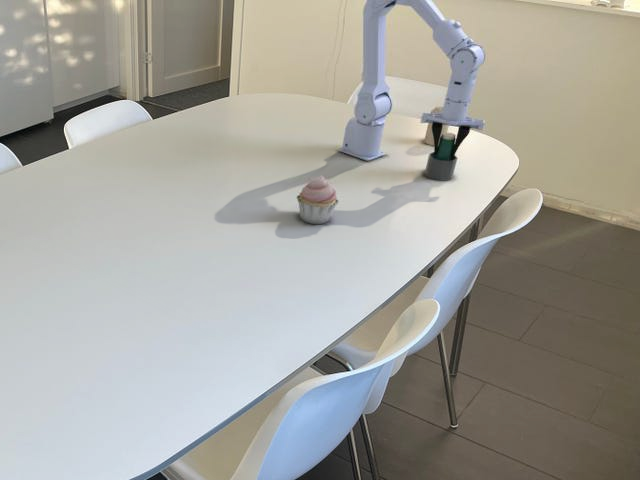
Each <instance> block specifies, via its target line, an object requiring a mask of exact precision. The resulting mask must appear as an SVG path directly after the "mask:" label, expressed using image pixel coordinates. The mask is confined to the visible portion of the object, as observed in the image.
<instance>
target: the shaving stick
mask: <svg viewBox="0 0 640 480" xmlns="http://www.w3.org/2000/svg"><path fill="white" fill-rule="evenodd" d="M456 137H457V134H456V133H452V132H447V133H442V136H441V137H440V141H439V145H438V150H437V154H436V157H435V159H438V160H443V161H450V159H451V155H452V151H453V147H454V144H455V141H456Z"/></svg>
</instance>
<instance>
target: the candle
mask: <svg viewBox="0 0 640 480" xmlns="http://www.w3.org/2000/svg"><path fill="white" fill-rule="evenodd" d="M442 110H443V106H435V107H434V108H433V109H431V111H430V113H431V114H442ZM448 131H449V125H443V127H442V131H441V135H440V137H441V136H442V133H448ZM439 141H440V139H439ZM423 142H424V144H427V145H430V146H434V137H433V132H432V123H427V127H426V131H425V135H424V141H423ZM438 145H439V144H438Z"/></svg>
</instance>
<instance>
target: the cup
mask: <svg viewBox="0 0 640 480" xmlns="http://www.w3.org/2000/svg"><path fill="white" fill-rule="evenodd" d="M435 157H436V155H435V154H434V151H431V152H429V154H428V157H427V161H426V165H425V169H424V176H426V177H427V178H429V179H432V180H434V181H435V180H436V181H449V180H450V181H451V180H452V179H453V177H454V173H455V170H456V166H457V163H458V157H457V155H455V156H454V157H451V159H450V161H443V160H438V159H435Z"/></svg>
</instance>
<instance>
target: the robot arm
mask: <svg viewBox="0 0 640 480" xmlns="http://www.w3.org/2000/svg"><path fill="white" fill-rule="evenodd" d="M397 5H399V6H406V7H407V6H408V7H411V8H412V10H413V11H414V12H415V13H416V14H417V15H418V16H419V17H420V18H421V19H422V20H423V21H424V22H425V23H426V24H427V26H428V27H429V28H430V29H431V30H432V40H433V41H434V42H435V44H436V45H437V47H439V48H440V50H441V51H442V52H443V53H444V54H445V56H446V58H448V59H449V66H450V69H451V75H450V78H449V82H448V86H447V90H446V95H445V98H444V101H443V106H442V107H443V110H442V114H431V112H430V113H429V112H422V113H421V117H420V118H421V119H420V124H426V123H427V124H428V123H432V132H433V137H434V145H433V152H434V154H435V155H436V154H437V150H438V144H439V139H440V135H441V131H442V127H443V125H449V126H450V127H456V128H457V127H458V130H457V133H456V136H455V138H456V140H455V144H454V147H453V151H452V155H451V157H454V156H456V153H457V151H458V149H459V147H460V146H461V144H462V143H463V141H464V140H465V139H466V138H467V137H468V136H469V134H470V131H471V129H472V130H473V129H474V130H477V131H483V129H484V126H485V119H478V118H473V117H469V116H467V115H468V111H469V108H470V104H471V100H472V97H473V93H474V88H475V84H476V80H477V76H478V72H479V68H481V67H482V66H483V64H484V63H485V60H486V52H485V50H484V48H483V46H482V45H481V44H479V43H474V42H475V40H473V38H469V36H468V35H467V34H466V33H465V31H464V30H462V28H461V27H462V23H460V21H455V20H454V19H446V18H445V16H444V15H443V13H442V12H441V11H440V9H439V8H438V7H437V5H436V4H435V2H434V1H433V0H366V1H365V4H364V6H363V9H362V22H363V23H362V31H363V33H362V60H363V61H362V70H363V71H362V72H363V73H362V81H363V82H362V85H361V87H360V90H359V91H358V93H357V99H356V103H355V105H354V110H353V112H354V113H353V114H354V116H352V117H351V118H350V119H349V120H348V121H347V123H346V126H345V130H344V135H343V141H342V146H341V148H340V149H339V151H340V152H341V153H345V154H346V155H349V156H353V157H354V158H358V159H361V160H363V161H367V162H369V161H371V160H375V159H378V158H381V157H383V156H386V152H383V151H381V150H380V149H381V148H380V147H381V143H382V138H383V133H384V129H385V123H386V117H387V116H388V115H389V114H390V113H391V111H392V110H393V99H392V97H391V94H390V87H389V85H388V84H387V83H386V45H387V43H386V39H387V38H386V32H387V15H388V14H389V12H391V11H392V9H393V8H395V6H397Z"/></svg>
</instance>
